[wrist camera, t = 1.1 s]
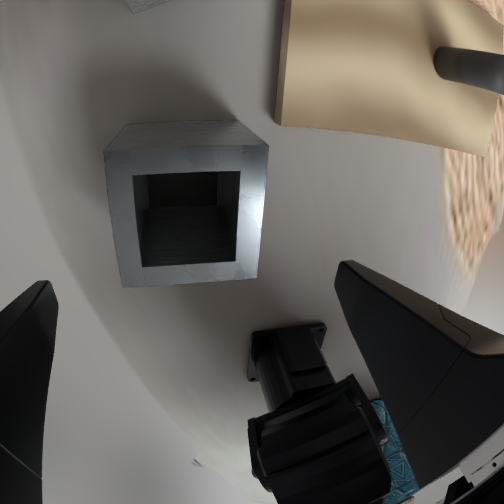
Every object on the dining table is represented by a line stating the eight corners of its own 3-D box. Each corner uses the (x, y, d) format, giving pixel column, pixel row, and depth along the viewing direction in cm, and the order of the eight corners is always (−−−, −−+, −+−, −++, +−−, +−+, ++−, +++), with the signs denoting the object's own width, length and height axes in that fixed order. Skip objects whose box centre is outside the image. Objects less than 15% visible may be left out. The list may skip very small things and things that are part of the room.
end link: (233, 219, 19) (256, 278, 15) (134, 224, 18) (122, 287, 13) (238, 120, 16) (269, 145, 11) (126, 124, 15) (103, 151, 10)
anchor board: (476, 152, 21) (531, 182, 16) (274, 122, 17) (320, 149, 12) (492, 24, 15) (552, 34, 9) (289, -66, 10) (339, -108, 5)
